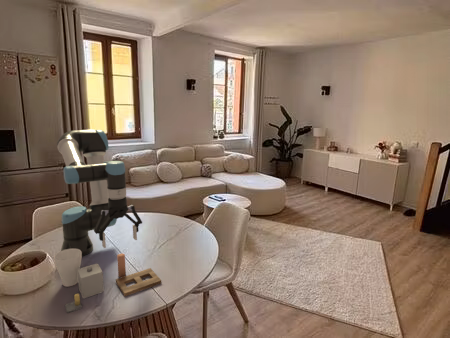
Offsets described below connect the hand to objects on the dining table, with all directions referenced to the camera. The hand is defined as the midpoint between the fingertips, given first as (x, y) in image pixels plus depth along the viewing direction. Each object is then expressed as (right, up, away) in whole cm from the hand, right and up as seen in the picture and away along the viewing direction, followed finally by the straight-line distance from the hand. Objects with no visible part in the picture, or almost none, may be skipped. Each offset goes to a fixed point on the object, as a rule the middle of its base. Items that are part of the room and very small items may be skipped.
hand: (120, 242), depth 129 cm
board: (+9, -17, -2) cm, 19 cm away
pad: (-11, -20, -18) cm, 29 cm away
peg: (0, -16, +4) cm, 16 cm away
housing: (-9, -18, -8) cm, 22 cm away
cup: (-21, -17, -3) cm, 27 cm away
